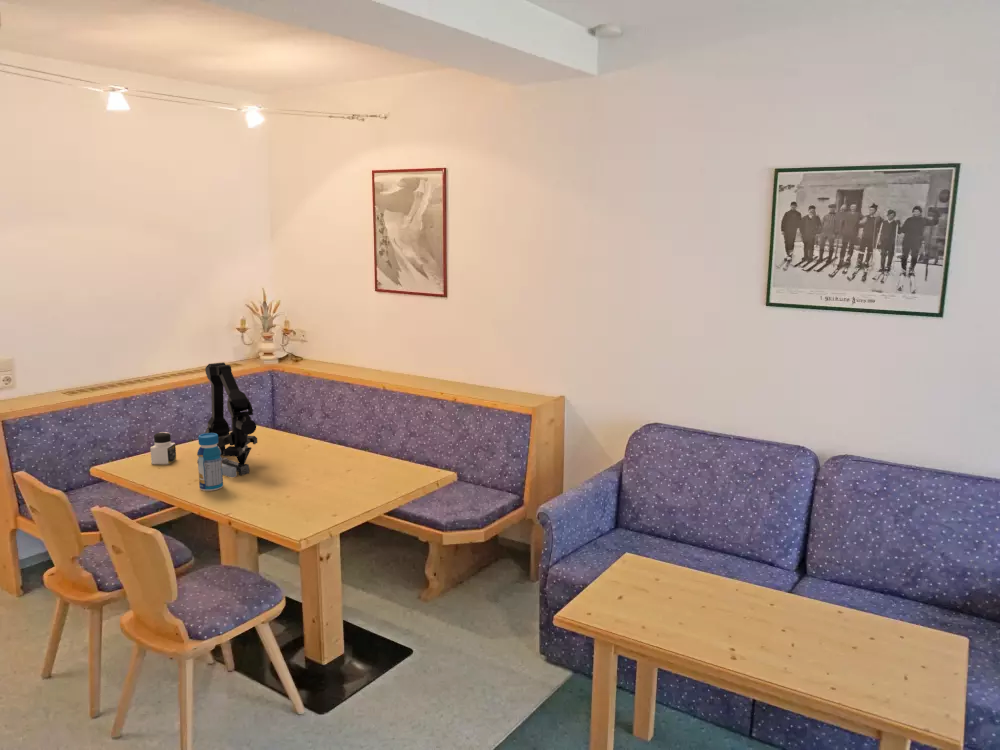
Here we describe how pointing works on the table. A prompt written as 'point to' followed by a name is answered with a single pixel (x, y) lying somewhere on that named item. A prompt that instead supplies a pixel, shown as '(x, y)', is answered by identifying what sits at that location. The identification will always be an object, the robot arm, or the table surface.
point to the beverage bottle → (209, 462)
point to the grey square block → (243, 469)
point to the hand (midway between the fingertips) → (242, 466)
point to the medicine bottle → (163, 449)
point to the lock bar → (231, 463)
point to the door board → (228, 471)
